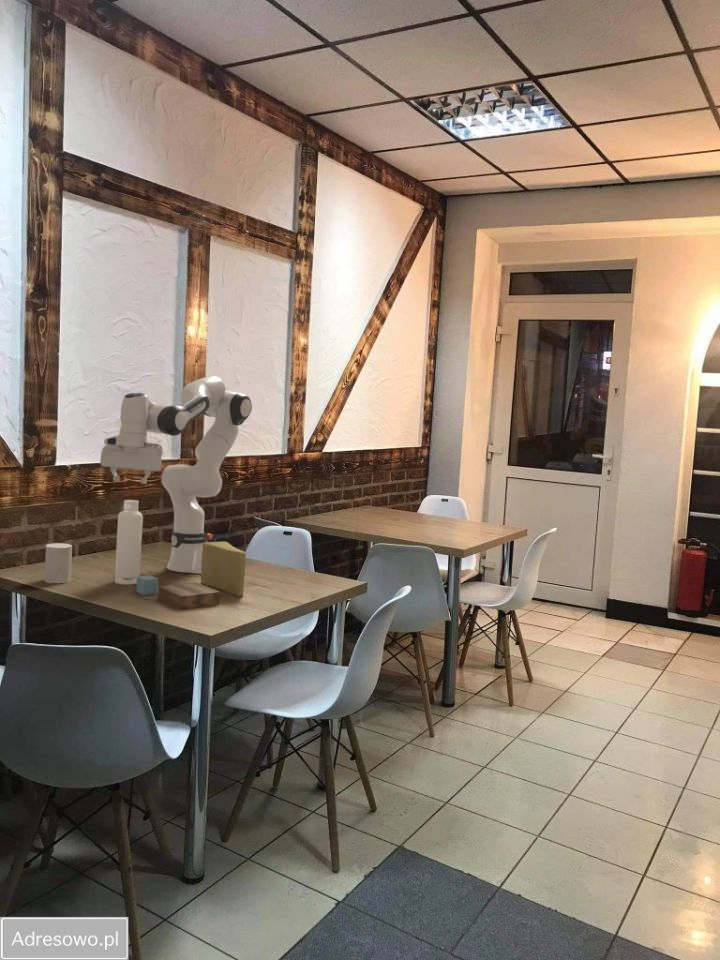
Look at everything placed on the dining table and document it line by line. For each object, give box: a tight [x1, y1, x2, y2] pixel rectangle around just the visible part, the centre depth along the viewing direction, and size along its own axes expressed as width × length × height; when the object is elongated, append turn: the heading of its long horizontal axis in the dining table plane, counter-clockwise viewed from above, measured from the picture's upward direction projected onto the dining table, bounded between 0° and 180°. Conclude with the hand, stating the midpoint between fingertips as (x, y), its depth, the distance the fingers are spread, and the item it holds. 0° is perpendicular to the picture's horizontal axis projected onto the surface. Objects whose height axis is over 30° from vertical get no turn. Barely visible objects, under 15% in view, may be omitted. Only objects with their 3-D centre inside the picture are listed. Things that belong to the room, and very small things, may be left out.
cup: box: [44, 542, 73, 585], centre depth 265 cm, size 8×8×12 cm
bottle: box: [114, 499, 144, 585], centre depth 271 cm, size 8×8×28 cm
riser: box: [157, 582, 221, 610], centre depth 252 cm, size 14×14×4 cm
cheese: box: [200, 541, 246, 598], centre depth 271 cm, size 22×10×15 cm, turn 36°
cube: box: [135, 575, 159, 596], centre depth 259 cm, size 5×5×5 cm
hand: (130, 482), depth 266 cm, fingers open, 8 cm apart
